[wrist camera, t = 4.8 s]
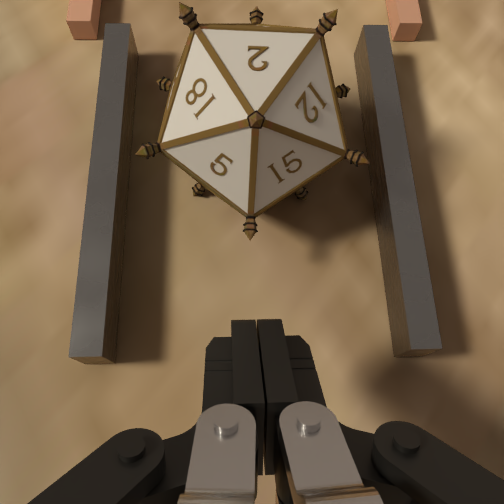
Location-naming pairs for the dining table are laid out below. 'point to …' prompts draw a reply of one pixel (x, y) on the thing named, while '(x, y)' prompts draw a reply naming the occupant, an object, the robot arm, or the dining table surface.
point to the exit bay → (398, 4)
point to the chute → (382, 182)
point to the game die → (253, 112)
